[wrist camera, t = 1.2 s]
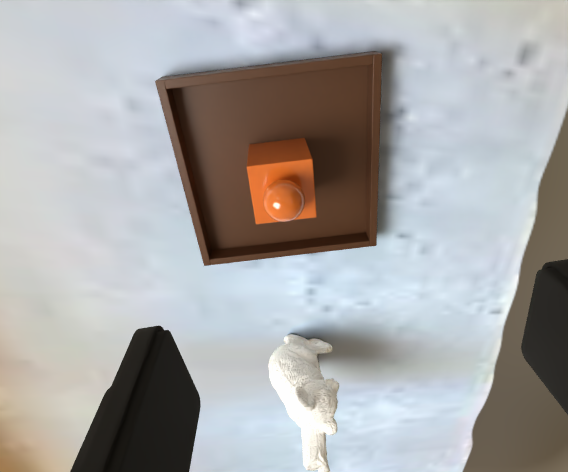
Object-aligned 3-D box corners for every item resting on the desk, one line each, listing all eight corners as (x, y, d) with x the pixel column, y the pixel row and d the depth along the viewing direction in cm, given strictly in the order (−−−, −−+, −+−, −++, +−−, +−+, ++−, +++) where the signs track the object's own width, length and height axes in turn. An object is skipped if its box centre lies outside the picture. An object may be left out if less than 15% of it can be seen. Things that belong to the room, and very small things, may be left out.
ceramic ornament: (256, 195, 31) (255, 243, 24) (248, 144, 28) (244, 181, 22) (309, 189, 31) (321, 236, 24) (305, 137, 28) (318, 173, 22)
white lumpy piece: (334, 366, 43) (357, 477, 32) (277, 375, 43) (281, 488, 33) (326, 313, 38) (350, 421, 28) (263, 323, 39) (264, 434, 28)
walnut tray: (206, 253, 34) (204, 265, 32) (161, 76, 26) (154, 80, 24) (370, 234, 34) (376, 245, 32) (374, 51, 26) (382, 53, 24)
